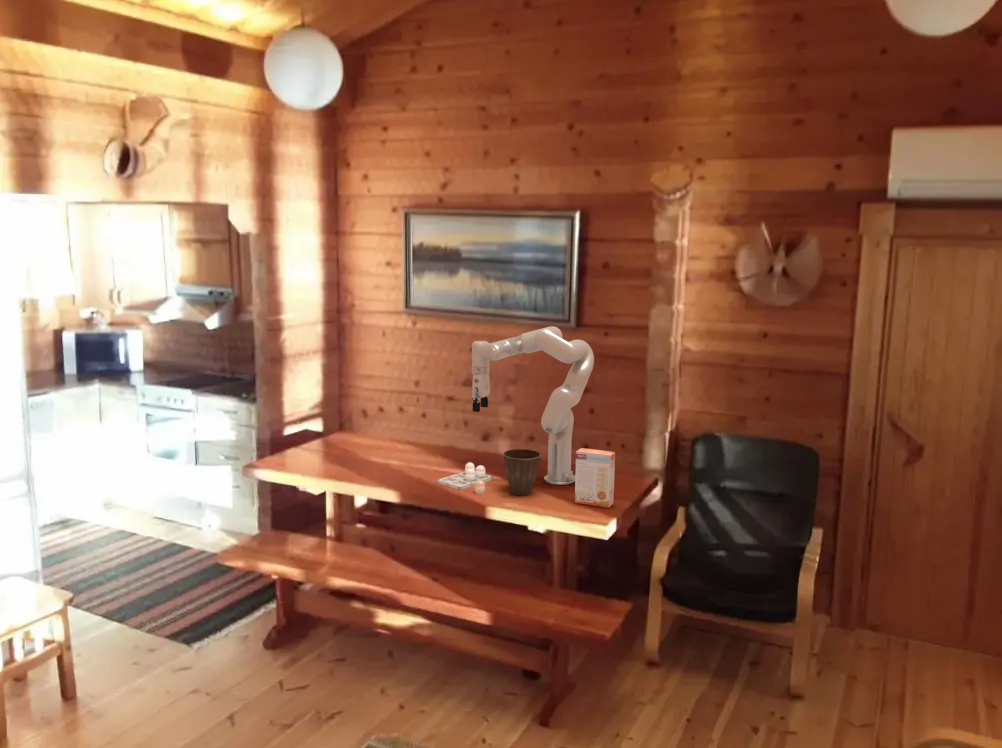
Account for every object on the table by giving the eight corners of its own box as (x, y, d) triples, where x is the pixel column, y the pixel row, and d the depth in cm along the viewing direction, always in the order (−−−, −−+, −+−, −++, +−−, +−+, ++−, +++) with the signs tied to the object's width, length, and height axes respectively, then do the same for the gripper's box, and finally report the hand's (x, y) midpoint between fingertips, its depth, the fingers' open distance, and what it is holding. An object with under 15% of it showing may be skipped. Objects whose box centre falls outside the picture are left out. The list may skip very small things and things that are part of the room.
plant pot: (539, 487, 354) (540, 449, 352) (540, 498, 340) (541, 459, 337) (502, 486, 354) (503, 448, 352) (502, 498, 340) (503, 458, 337)
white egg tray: (492, 481, 361) (492, 476, 360) (459, 492, 346) (459, 486, 346) (469, 475, 369) (469, 470, 369) (436, 485, 355) (436, 479, 355)
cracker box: (613, 504, 334) (615, 451, 331) (608, 508, 329) (610, 455, 325) (579, 498, 341) (581, 446, 337) (574, 503, 335) (575, 450, 332)
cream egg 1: (476, 476, 364) (476, 462, 363) (469, 478, 361) (470, 464, 360) (469, 474, 367) (469, 460, 366) (463, 476, 364) (463, 462, 363)
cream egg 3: (487, 479, 360) (487, 465, 359) (480, 481, 357) (480, 467, 356) (480, 477, 363) (480, 463, 362) (473, 479, 360) (473, 465, 359)
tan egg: (487, 494, 344) (487, 480, 343) (480, 497, 341) (480, 482, 340) (479, 492, 346) (479, 478, 345) (472, 494, 344) (472, 480, 342)
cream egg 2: (477, 482, 356) (477, 468, 355) (470, 484, 353) (470, 470, 352) (470, 480, 359) (470, 466, 357) (463, 482, 356) (463, 468, 355)
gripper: (481, 373, 362) (481, 414, 365) (495, 367, 378) (495, 406, 381) (464, 372, 364) (464, 412, 367) (479, 366, 380) (479, 404, 383)
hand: (480, 409), depth 374 cm, fingers open, 9 cm apart
